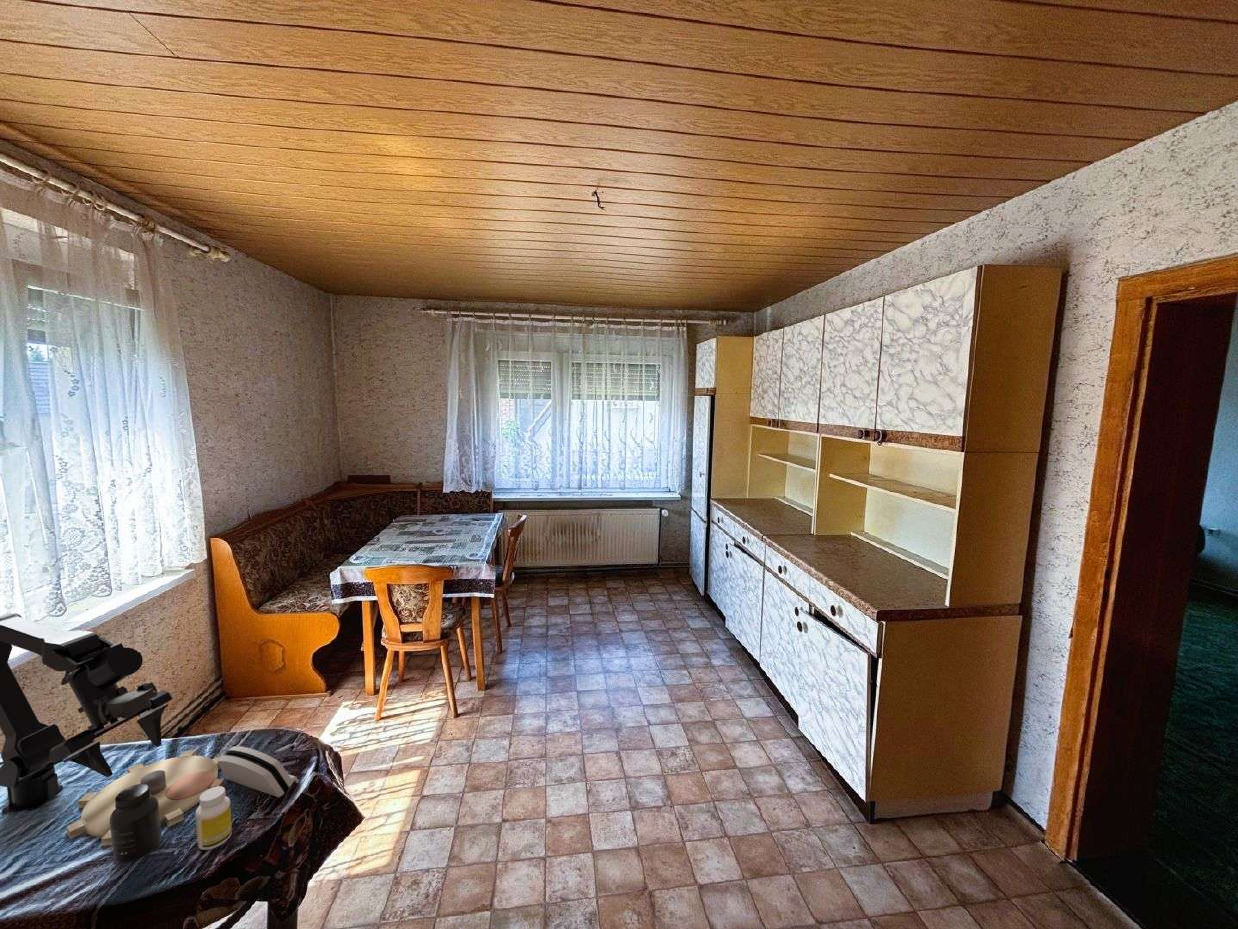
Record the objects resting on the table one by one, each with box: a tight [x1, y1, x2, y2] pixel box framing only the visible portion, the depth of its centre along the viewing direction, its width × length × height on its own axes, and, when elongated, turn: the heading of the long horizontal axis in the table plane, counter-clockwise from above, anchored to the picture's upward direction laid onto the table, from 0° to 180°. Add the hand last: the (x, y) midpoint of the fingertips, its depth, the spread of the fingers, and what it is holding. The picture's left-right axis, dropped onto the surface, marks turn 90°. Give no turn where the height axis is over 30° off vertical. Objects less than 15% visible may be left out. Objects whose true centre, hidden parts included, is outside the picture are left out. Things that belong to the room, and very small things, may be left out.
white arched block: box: [218, 745, 300, 798], centre depth 116 cm, size 17×5×10 cm, turn 72°
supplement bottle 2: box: [195, 786, 233, 851], centre depth 101 cm, size 5×5×10 cm
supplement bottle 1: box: [110, 783, 162, 864], centre depth 99 cm, size 7×7×12 cm
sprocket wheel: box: [66, 749, 226, 847], centre depth 113 cm, size 26×26×4 cm
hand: (135, 760), depth 105 cm, fingers open, 9 cm apart
